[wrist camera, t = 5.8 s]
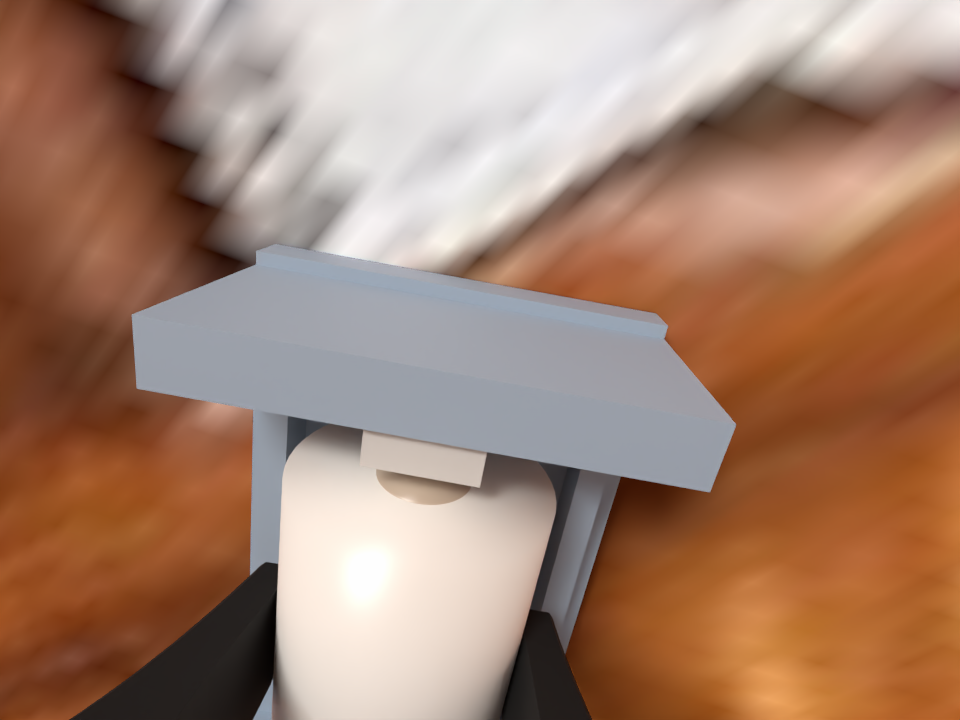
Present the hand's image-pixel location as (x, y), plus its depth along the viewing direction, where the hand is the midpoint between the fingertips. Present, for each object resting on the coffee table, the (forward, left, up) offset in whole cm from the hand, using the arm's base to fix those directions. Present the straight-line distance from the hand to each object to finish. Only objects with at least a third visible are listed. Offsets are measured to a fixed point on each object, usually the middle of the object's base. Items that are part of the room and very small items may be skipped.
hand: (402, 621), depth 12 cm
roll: (0, +1, -2) cm, 2 cm away
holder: (0, 0, -3) cm, 3 cm away
